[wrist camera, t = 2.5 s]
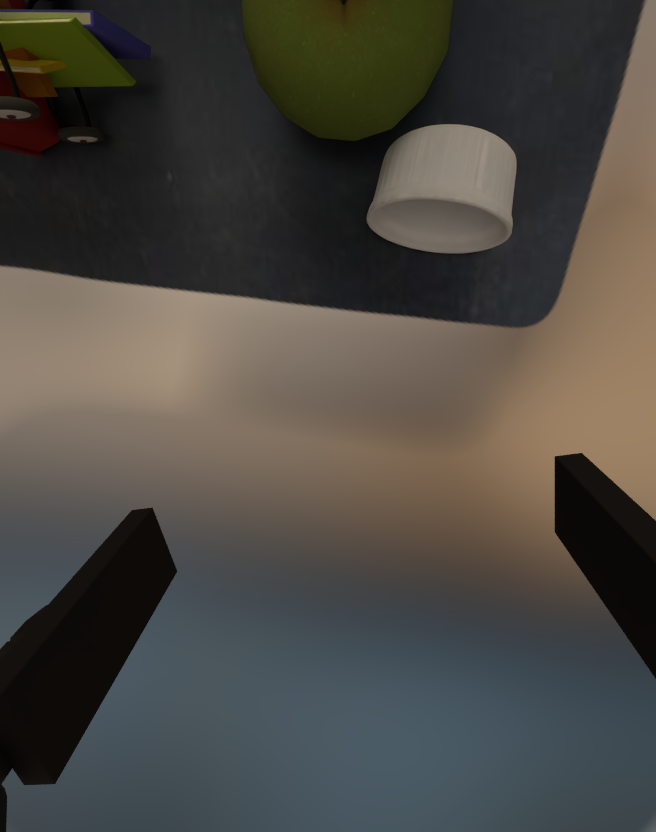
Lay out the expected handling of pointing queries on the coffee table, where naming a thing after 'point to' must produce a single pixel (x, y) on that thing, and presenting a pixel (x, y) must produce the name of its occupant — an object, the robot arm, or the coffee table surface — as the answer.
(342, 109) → the apple
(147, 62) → the coffee table surface
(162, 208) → the coffee table surface
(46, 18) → the toy wheeled cart
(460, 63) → the coffee table surface
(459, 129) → the ramekin
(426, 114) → the coffee table surface
